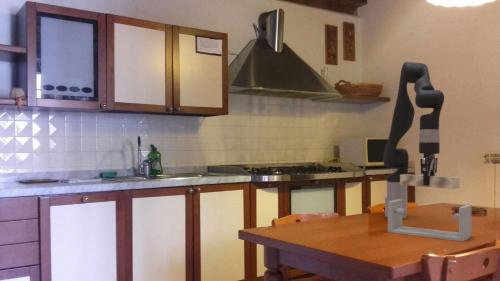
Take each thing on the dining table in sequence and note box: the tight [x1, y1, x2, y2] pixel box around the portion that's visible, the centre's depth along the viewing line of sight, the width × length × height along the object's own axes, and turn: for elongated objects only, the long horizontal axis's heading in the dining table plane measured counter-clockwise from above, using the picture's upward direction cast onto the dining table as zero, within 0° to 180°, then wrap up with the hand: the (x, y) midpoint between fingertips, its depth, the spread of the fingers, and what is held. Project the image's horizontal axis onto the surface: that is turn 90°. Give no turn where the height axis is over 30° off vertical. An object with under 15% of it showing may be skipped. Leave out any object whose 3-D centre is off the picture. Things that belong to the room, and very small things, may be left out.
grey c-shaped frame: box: [387, 199, 472, 242], centre depth 182 cm, size 28×12×12 cm, turn 52°
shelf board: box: [400, 173, 461, 190], centre depth 183 cm, size 22×5×4 cm, turn 40°
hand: (428, 184), depth 182 cm, fingers closed on shelf board, 5 cm apart
